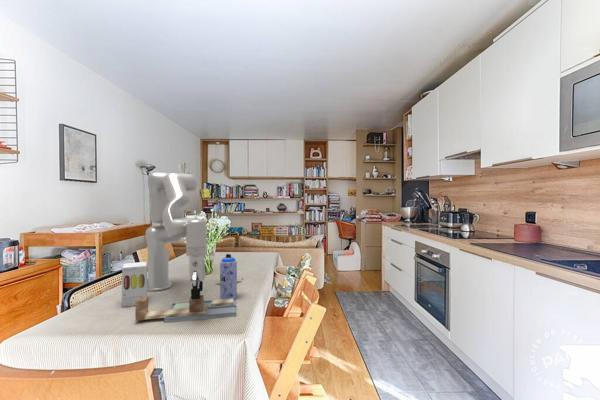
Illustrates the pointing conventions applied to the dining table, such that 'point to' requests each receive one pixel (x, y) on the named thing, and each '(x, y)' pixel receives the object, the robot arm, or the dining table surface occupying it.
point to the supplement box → (133, 282)
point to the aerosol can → (228, 277)
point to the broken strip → (221, 302)
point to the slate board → (211, 313)
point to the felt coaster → (181, 306)
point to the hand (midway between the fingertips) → (197, 294)
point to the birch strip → (143, 313)
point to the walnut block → (196, 304)
